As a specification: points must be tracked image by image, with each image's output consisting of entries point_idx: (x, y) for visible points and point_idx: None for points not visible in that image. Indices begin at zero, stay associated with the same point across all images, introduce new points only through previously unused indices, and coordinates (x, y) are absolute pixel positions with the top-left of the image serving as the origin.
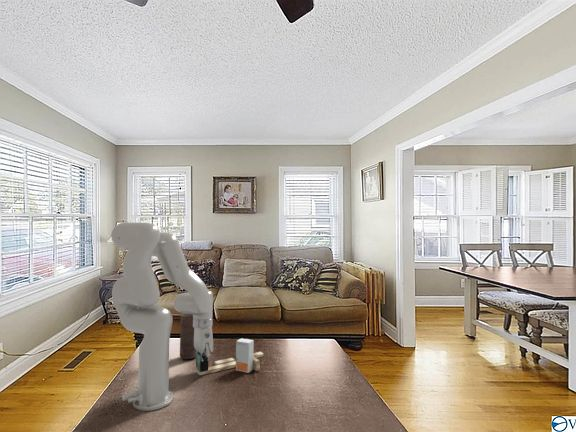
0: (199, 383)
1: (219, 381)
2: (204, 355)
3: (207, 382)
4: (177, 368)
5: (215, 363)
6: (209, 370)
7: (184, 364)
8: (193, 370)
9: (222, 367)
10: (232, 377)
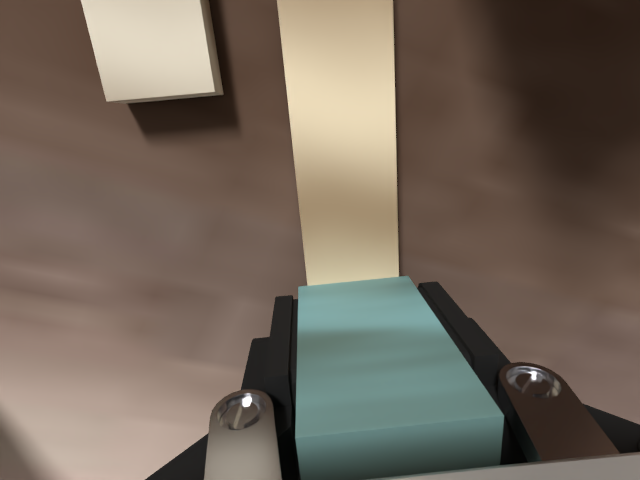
0: (542, 365)
1: (626, 195)
2: (465, 467)
3: (569, 303)
4: (121, 465)
5: (160, 98)
6: (397, 249)
7: (31, 402)
8: (227, 356)
9: (392, 63)
10: (636, 18)
